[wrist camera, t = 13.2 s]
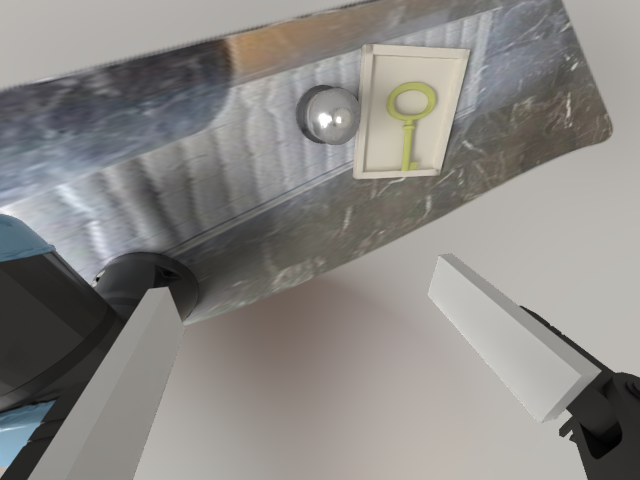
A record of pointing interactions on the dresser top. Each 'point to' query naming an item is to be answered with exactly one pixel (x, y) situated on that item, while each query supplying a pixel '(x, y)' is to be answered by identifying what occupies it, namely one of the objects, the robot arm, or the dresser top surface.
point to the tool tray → (405, 108)
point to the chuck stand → (328, 115)
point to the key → (410, 117)
